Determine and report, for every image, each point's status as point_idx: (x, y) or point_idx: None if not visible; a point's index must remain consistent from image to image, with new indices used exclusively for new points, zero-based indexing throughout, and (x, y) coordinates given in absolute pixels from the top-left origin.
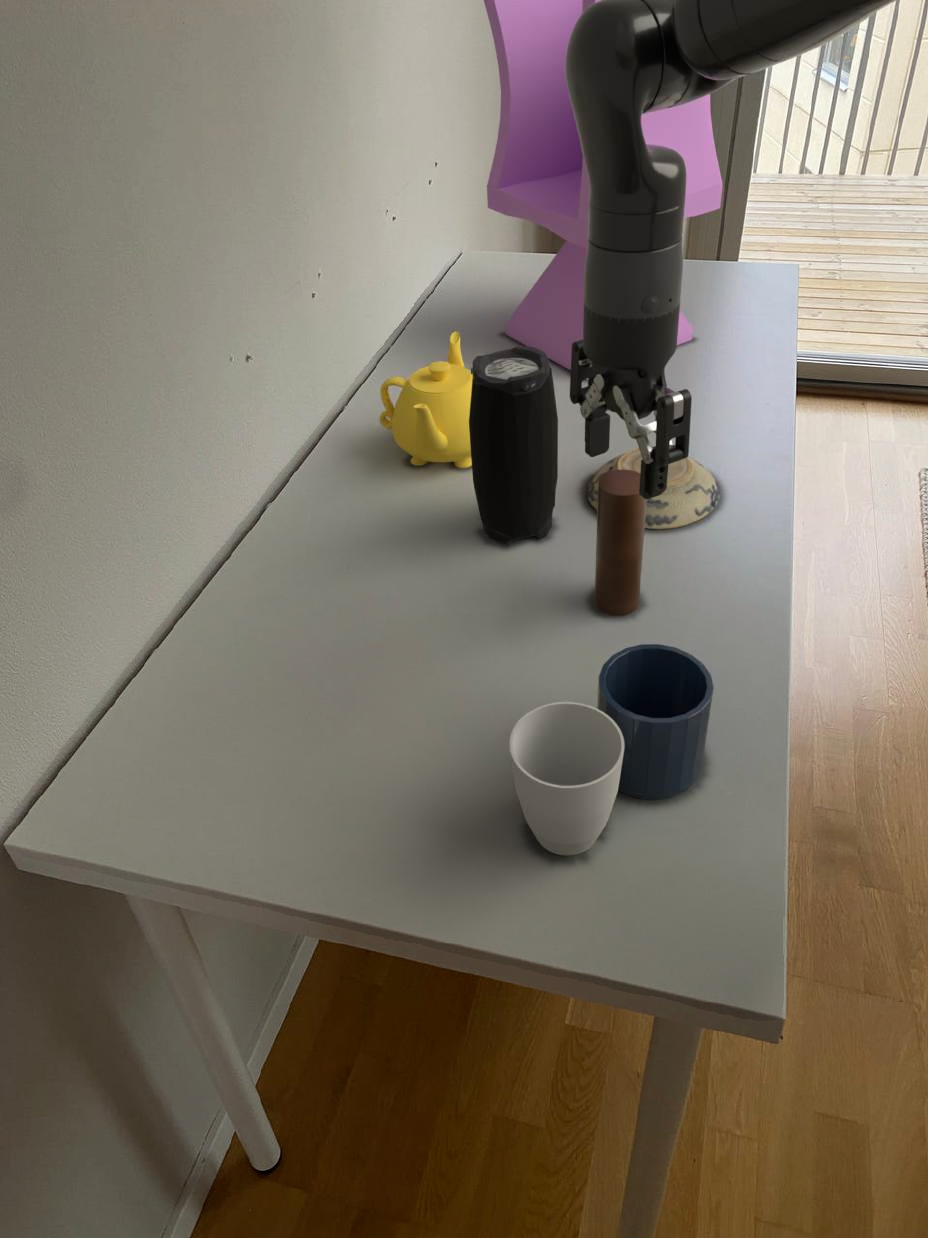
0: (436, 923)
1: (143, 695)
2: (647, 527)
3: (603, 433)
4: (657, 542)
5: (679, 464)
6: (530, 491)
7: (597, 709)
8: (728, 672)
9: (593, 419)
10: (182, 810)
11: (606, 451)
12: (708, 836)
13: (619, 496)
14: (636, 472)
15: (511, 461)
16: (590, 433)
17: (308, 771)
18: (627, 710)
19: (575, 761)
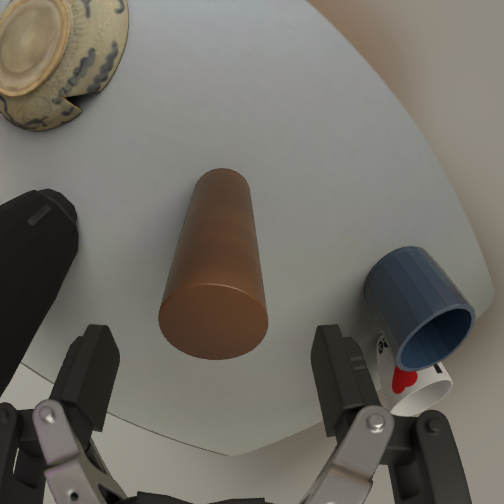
0: (380, 386)
1: (173, 434)
2: (106, 82)
3: (97, 375)
4: (139, 82)
5: (37, 8)
6: (52, 274)
7: (424, 385)
8: (386, 165)
9: (91, 426)
10: (255, 435)
11: (106, 325)
12: (453, 279)
13: (253, 348)
14: (190, 290)
15: (33, 329)
16: (107, 405)
17: (266, 410)
18: (433, 363)
19: None
